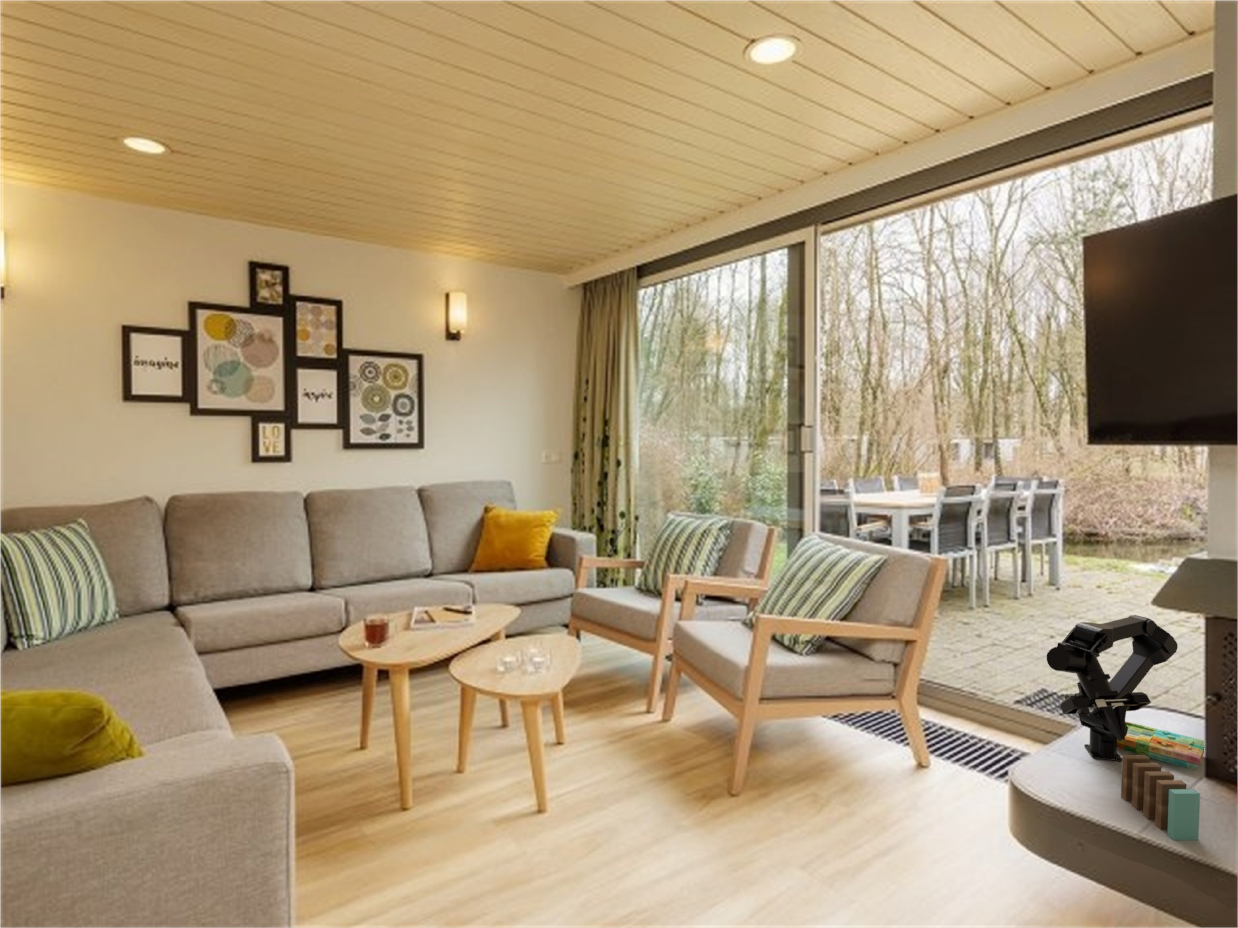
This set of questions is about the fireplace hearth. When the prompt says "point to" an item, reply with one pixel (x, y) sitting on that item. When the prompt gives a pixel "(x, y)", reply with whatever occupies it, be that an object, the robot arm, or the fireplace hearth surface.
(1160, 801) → the domino
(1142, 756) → the domino
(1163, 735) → the puzzle game
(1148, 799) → the domino
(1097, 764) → the fireplace hearth surface
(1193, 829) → the domino
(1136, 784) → the domino
